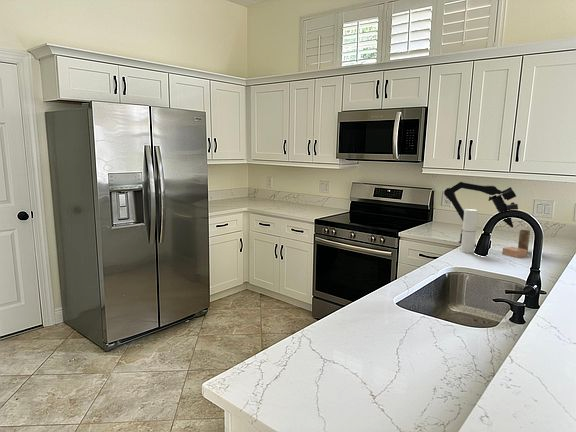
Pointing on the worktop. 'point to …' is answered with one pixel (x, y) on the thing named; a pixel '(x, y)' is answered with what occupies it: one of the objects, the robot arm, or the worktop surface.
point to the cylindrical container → (469, 230)
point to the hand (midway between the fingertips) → (512, 226)
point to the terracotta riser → (514, 252)
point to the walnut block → (524, 239)
